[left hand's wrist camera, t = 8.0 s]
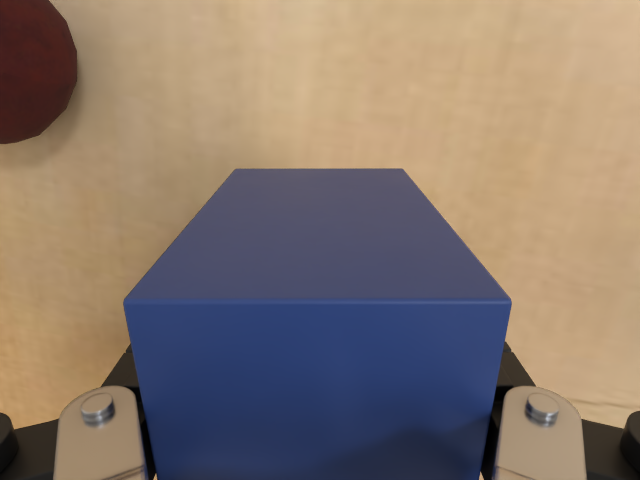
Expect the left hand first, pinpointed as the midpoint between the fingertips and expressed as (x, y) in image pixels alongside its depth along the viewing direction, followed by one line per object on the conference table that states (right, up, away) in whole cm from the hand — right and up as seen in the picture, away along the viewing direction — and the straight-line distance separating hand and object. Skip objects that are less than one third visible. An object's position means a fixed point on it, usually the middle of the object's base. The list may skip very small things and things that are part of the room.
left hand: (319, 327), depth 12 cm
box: (0, -5, +7) cm, 9 cm away
